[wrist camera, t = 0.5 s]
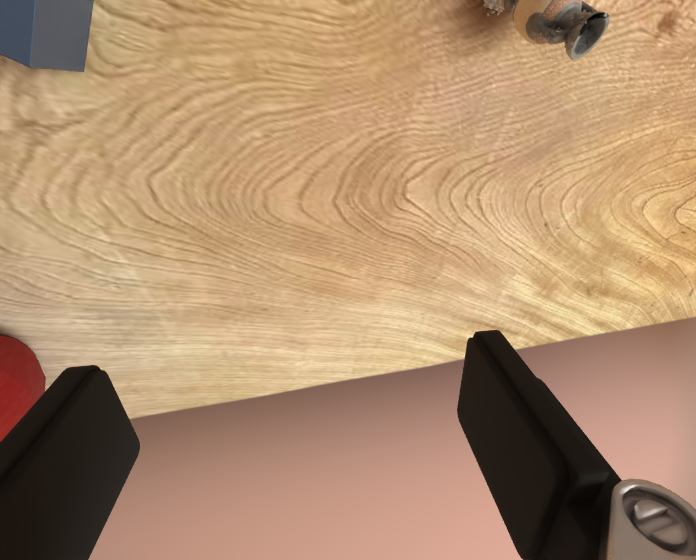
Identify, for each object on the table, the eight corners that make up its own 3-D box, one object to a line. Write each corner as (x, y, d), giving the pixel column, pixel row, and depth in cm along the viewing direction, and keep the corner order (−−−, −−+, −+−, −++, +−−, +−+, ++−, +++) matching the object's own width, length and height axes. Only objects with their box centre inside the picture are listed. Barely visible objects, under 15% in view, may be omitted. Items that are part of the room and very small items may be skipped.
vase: (569, 45, 25) (638, 33, 19) (494, 83, 25) (542, 81, 20) (557, -48, 22) (633, -91, 17) (475, -3, 23) (523, -32, 18)
